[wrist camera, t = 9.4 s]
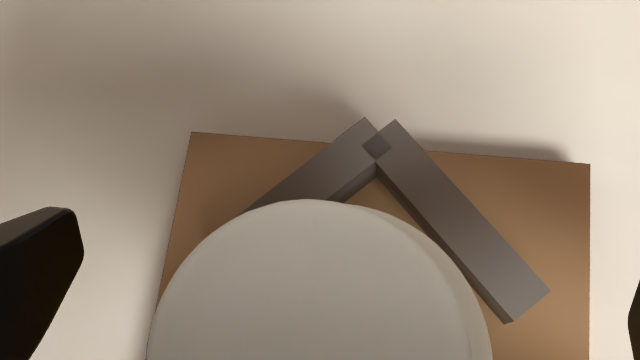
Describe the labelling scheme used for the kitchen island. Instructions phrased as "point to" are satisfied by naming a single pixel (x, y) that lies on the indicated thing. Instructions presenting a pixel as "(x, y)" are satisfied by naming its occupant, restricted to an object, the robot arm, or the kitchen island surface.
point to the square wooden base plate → (422, 218)
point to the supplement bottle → (318, 291)
